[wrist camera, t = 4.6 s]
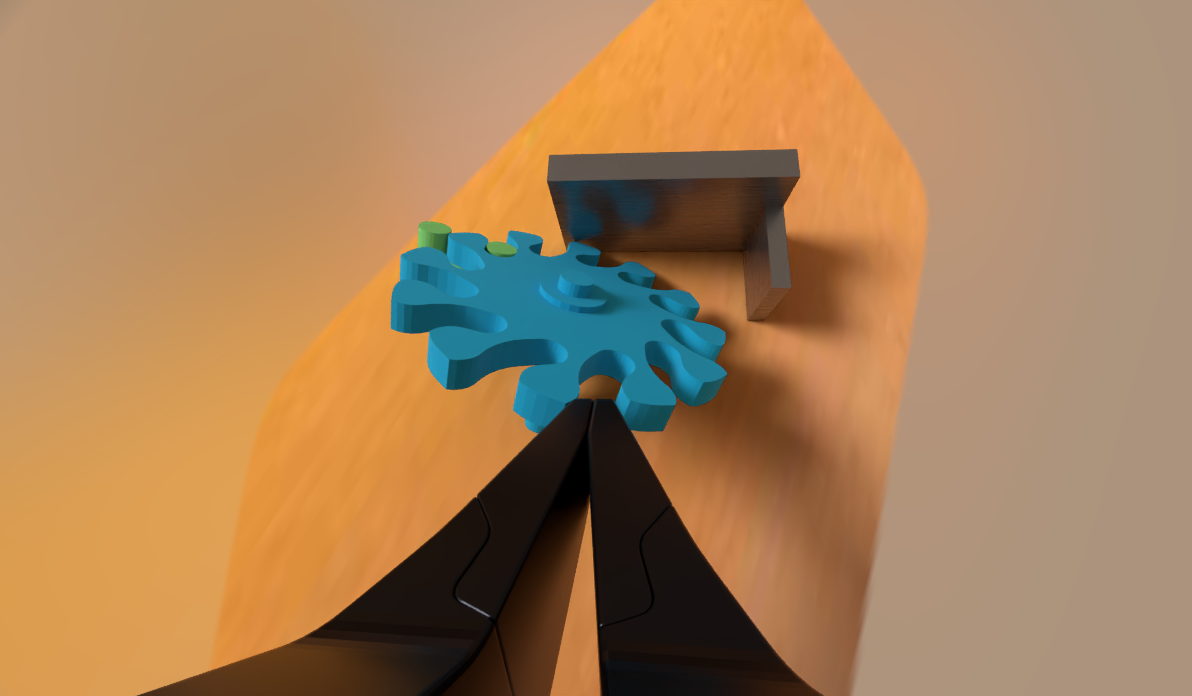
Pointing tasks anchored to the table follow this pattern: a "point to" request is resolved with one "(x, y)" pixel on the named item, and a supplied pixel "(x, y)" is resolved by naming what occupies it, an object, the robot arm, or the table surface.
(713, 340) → the gear
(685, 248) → the bay frame
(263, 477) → the table surface
